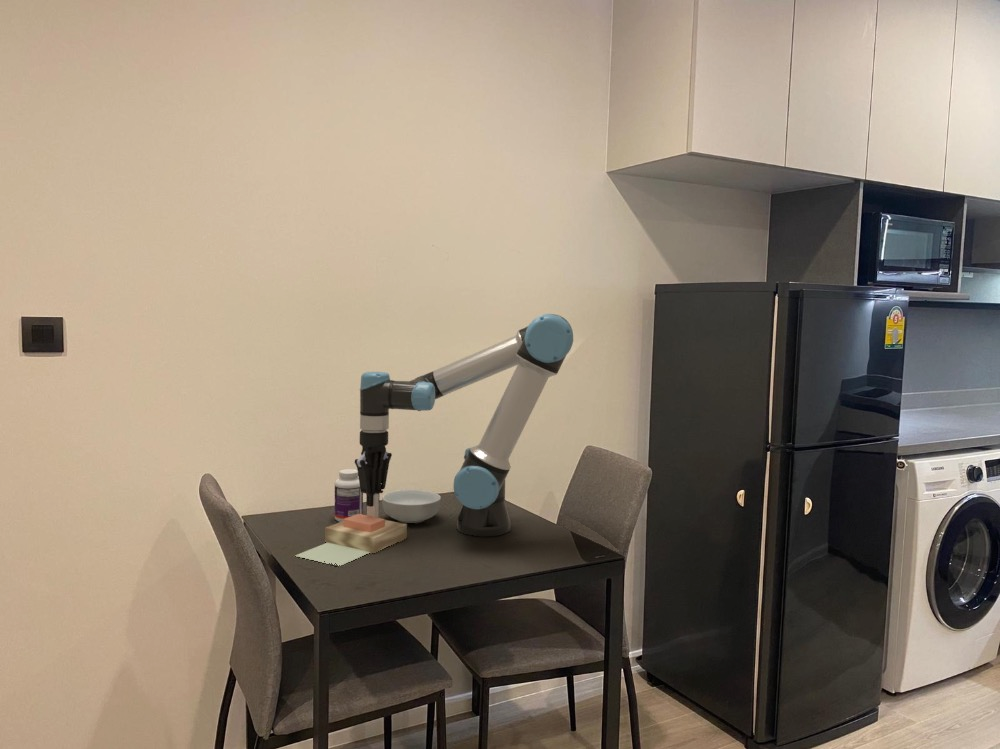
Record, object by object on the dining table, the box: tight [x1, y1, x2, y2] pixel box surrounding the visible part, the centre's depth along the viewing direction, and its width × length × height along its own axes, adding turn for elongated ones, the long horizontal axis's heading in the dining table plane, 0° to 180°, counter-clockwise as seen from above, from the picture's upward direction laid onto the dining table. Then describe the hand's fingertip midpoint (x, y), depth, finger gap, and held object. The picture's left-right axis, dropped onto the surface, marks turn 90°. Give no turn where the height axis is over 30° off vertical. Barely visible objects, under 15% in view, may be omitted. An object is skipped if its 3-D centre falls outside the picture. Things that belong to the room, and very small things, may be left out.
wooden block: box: [324, 519, 408, 554], centre depth 191 cm, size 16×14×4 cm
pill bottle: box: [334, 468, 364, 523], centre depth 209 cm, size 8×8×14 cm
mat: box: [294, 542, 372, 566], centre depth 180 cm, size 14×12×1 cm
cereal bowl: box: [381, 488, 442, 524], centre depth 211 cm, size 17×17×7 cm
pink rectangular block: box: [343, 514, 386, 532], centre depth 191 cm, size 9×6×2 cm, turn 61°
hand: (372, 517), depth 194 cm, fingers closed
